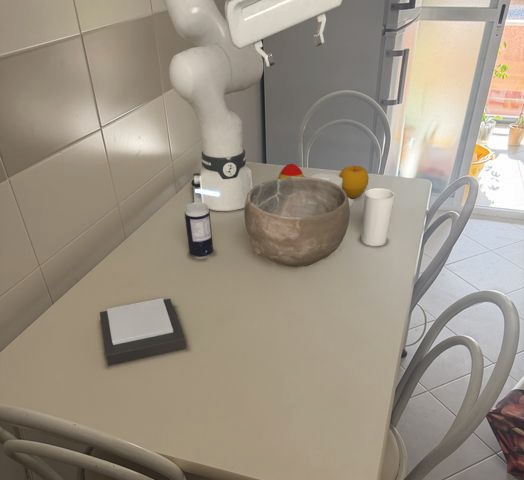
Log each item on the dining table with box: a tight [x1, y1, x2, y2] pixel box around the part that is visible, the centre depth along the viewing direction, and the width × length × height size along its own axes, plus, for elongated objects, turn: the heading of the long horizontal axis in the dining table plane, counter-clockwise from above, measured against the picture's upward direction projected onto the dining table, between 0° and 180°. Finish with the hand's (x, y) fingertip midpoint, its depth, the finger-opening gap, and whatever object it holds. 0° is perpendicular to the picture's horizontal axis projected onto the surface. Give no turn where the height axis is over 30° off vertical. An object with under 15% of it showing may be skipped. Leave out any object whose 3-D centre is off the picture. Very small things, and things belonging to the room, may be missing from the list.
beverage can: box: [184, 202, 214, 259], centre depth 114 cm, size 6×6×12 cm
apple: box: [338, 165, 370, 199], centre depth 140 cm, size 9×8×9 cm
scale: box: [99, 297, 187, 367], centre depth 93 cm, size 14×14×3 cm
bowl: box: [243, 176, 351, 268], centre depth 112 cm, size 24×24×15 cm
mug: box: [360, 187, 396, 247], centre depth 119 cm, size 10×7×12 cm, turn 157°
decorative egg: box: [277, 163, 305, 179], centre depth 139 cm, size 8×8×10 cm
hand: (295, 55), depth 89 cm, fingers open, 8 cm apart
